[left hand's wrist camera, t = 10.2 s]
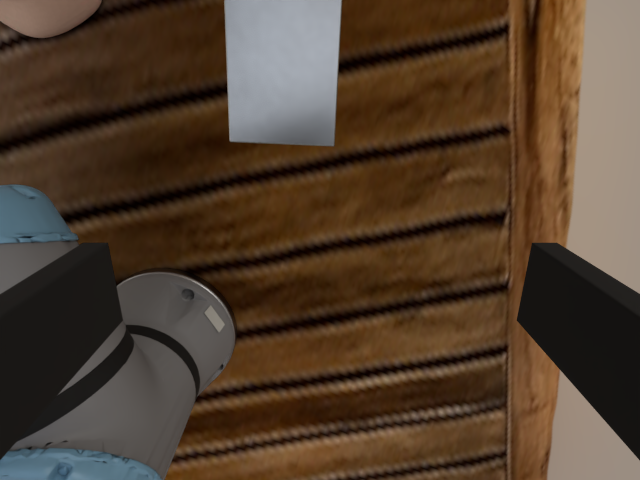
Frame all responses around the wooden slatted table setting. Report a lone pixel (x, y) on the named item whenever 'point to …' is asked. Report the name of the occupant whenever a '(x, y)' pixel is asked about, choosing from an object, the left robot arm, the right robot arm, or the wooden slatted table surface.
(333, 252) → the wooden slatted table surface
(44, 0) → the anatomical model
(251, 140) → the bar
